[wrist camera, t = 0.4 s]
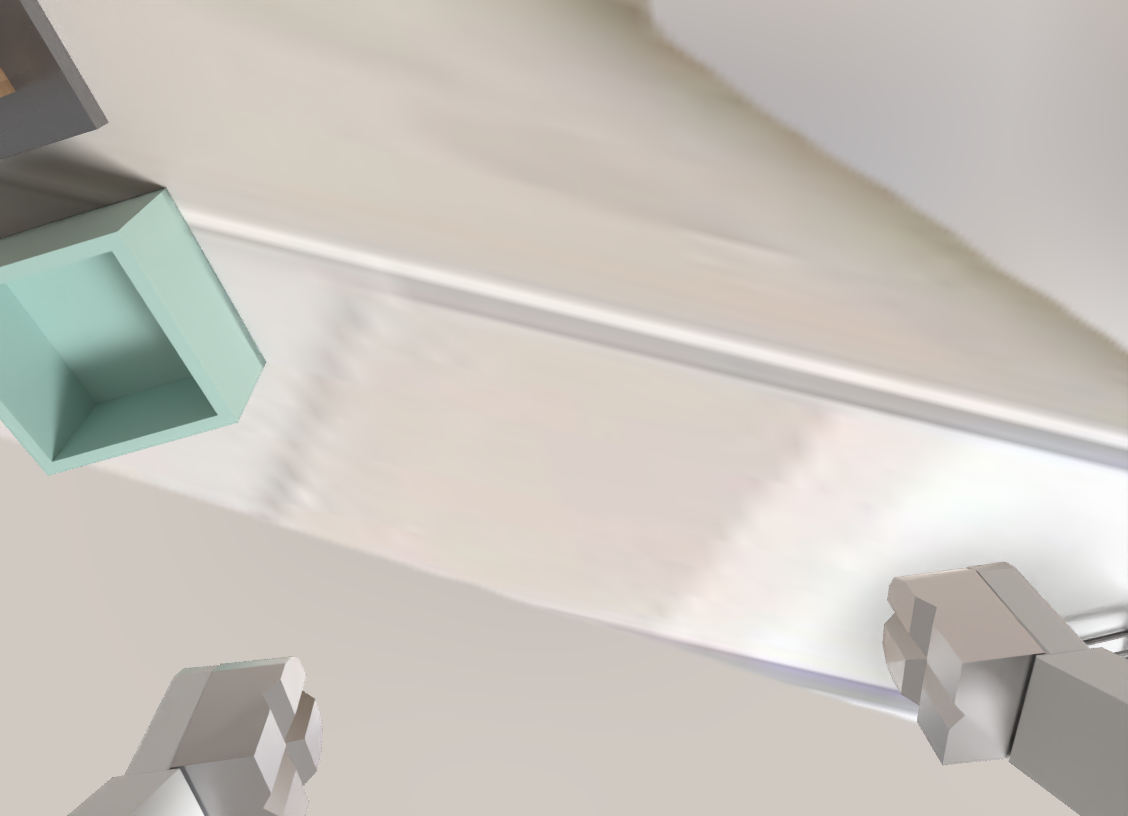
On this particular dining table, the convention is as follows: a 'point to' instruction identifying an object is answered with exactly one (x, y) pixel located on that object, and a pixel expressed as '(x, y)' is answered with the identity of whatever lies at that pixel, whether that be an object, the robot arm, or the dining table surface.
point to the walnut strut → (5, 85)
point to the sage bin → (117, 336)
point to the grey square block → (39, 83)
